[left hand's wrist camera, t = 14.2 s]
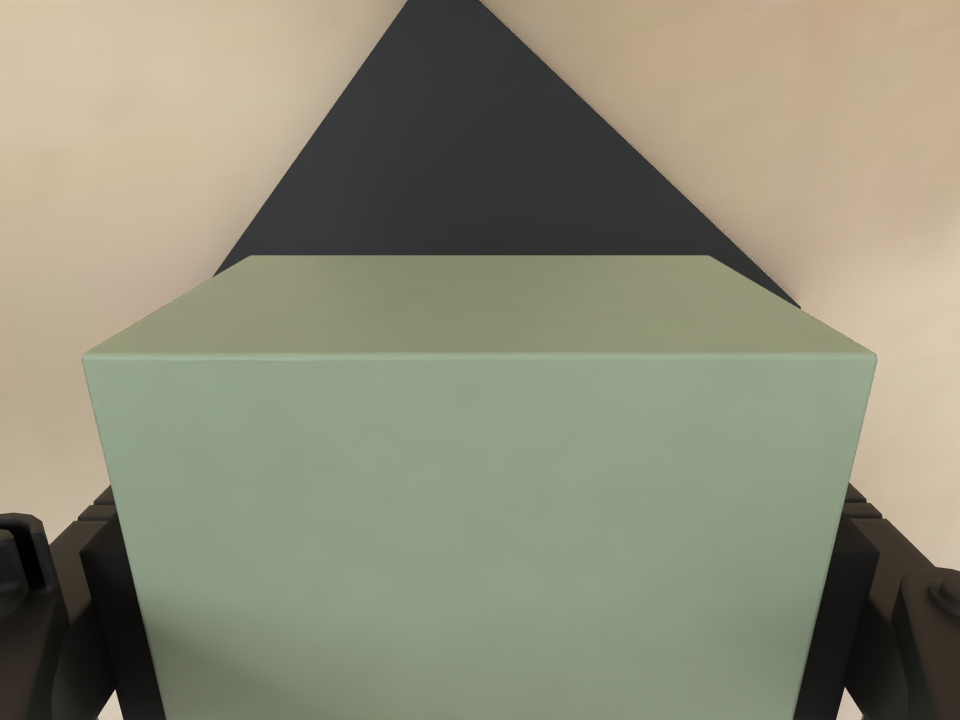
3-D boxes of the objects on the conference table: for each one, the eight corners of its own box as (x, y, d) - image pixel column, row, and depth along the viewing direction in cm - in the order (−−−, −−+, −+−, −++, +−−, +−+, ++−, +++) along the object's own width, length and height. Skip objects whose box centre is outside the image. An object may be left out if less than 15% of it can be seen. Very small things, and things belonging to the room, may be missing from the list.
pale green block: (663, 621, 14) (758, 877, 9) (295, 620, 14) (200, 877, 9) (710, 254, 11) (882, 353, 6) (247, 254, 11) (75, 353, 6)
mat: (497, 587, 23) (497, 598, 23) (160, 357, 20) (150, 364, 19) (793, 303, 20) (802, 308, 19) (437, -35, 16) (436, -41, 16)
